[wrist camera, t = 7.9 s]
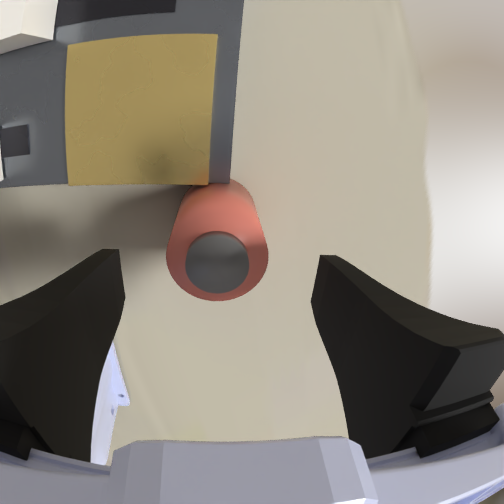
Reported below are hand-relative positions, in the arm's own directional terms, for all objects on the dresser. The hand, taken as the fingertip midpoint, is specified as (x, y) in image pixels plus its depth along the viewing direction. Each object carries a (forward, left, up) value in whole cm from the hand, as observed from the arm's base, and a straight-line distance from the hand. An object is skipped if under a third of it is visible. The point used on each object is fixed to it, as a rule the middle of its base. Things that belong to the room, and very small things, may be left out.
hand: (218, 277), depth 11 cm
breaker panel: (+8, +8, -6) cm, 13 cm away
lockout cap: (0, 0, -6) cm, 6 cm away
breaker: (+11, +11, -5) cm, 16 cm away
